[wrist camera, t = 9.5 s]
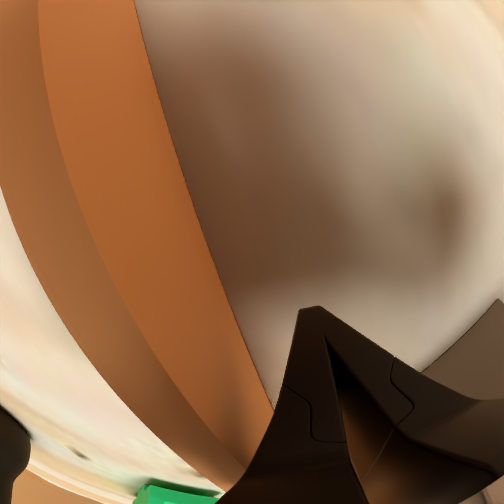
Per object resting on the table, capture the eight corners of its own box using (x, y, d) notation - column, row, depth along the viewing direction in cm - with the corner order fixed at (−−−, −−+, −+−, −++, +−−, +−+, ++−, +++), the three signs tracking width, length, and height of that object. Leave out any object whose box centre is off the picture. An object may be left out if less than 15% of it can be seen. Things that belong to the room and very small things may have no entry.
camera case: (503, 357, 16) (545, 412, 9) (350, 468, 20) (368, 531, 13) (498, 298, 13) (570, 371, 5) (290, 451, 17) (306, 543, 9)
